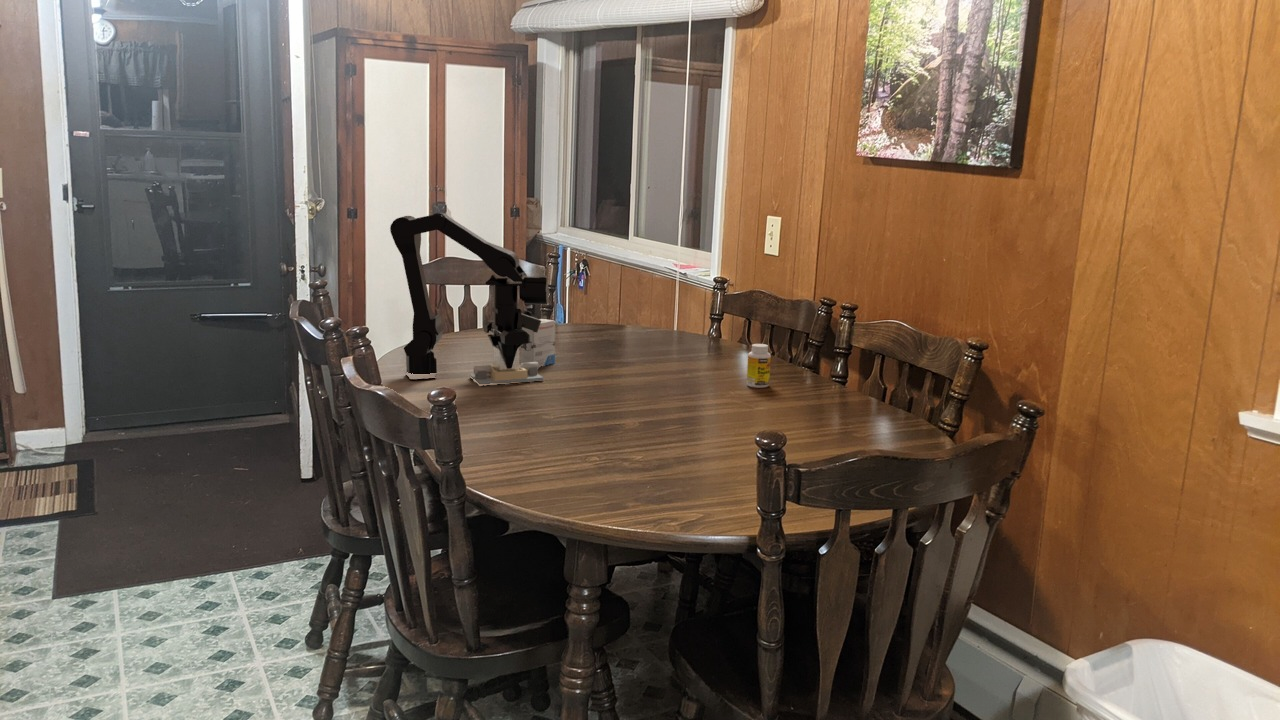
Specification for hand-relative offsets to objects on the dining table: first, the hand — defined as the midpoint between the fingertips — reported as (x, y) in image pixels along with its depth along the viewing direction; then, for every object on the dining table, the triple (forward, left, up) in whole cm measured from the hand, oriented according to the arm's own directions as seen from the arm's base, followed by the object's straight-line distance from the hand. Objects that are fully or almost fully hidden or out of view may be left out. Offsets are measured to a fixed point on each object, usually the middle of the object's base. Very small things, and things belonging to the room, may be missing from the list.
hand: (506, 366), depth 245 cm
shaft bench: (0, 0, -4) cm, 4 cm away
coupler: (0, 0, -1) cm, 1 cm away
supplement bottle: (+56, -27, -4) cm, 62 cm away
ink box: (+13, +13, -4) cm, 19 cm away
